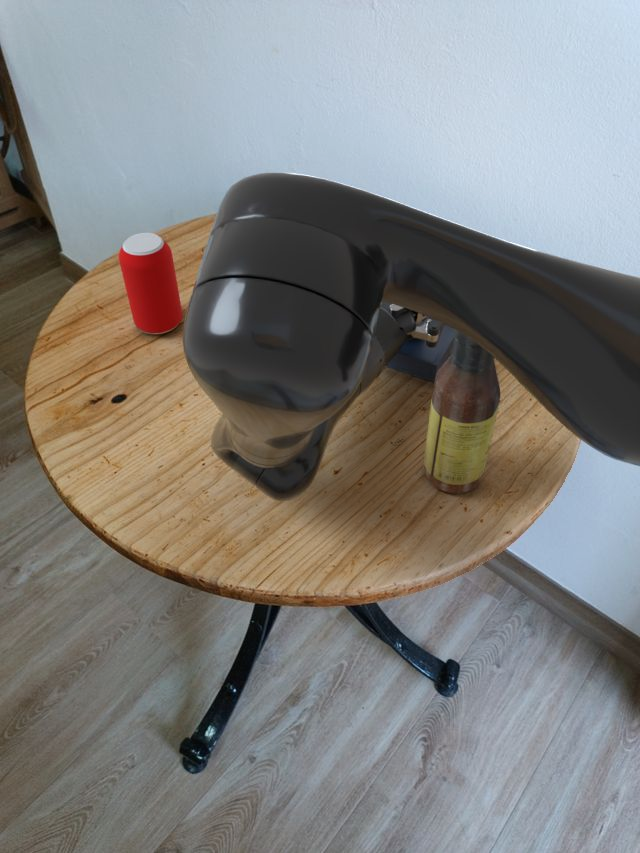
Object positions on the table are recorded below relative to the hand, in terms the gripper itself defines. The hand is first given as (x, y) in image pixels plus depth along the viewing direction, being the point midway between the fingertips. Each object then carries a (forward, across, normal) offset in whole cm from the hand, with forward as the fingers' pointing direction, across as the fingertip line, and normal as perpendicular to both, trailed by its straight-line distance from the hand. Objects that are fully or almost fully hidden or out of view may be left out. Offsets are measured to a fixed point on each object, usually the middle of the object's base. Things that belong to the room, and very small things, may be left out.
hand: (419, 277), depth 84 cm
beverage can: (-17, +28, +7) cm, 34 cm away
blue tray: (-2, 0, +7) cm, 7 cm away
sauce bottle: (-21, -14, +8) cm, 26 cm away
